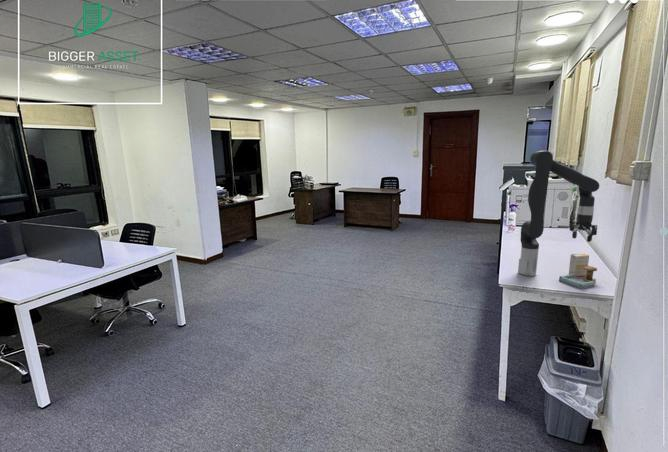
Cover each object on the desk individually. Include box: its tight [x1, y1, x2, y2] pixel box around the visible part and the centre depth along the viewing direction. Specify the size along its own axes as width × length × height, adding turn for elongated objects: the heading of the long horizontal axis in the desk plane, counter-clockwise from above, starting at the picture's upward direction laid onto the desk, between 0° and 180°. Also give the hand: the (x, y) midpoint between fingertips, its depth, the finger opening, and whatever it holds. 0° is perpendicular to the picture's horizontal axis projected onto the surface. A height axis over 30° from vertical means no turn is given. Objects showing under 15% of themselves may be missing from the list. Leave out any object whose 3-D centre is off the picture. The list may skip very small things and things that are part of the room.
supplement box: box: [568, 253, 590, 277], centre depth 201 cm, size 8×5×13 cm, turn 92°
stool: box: [582, 265, 598, 283], centre depth 193 cm, size 6×6×8 cm
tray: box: [558, 273, 596, 290], centre depth 190 cm, size 10×13×3 cm
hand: (581, 239), depth 199 cm, fingers open, 8 cm apart
